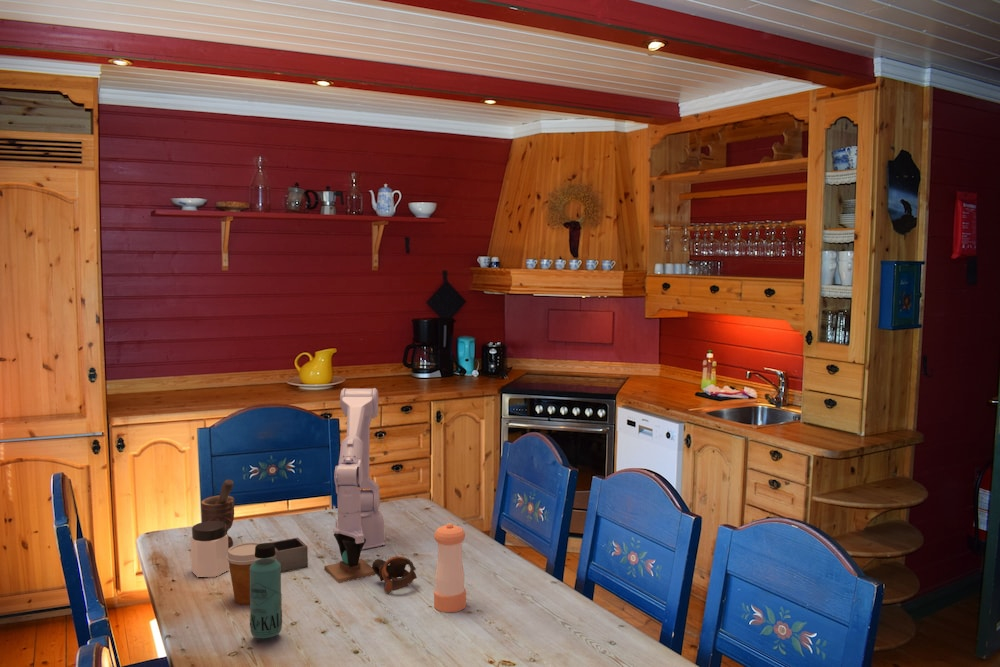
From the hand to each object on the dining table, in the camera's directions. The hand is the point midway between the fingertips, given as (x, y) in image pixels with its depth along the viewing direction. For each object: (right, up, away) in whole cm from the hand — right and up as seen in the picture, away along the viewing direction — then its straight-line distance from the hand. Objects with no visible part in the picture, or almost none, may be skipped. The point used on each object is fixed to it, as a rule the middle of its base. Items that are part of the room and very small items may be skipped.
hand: (350, 562), depth 199 cm
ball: (0, +2, 0) cm, 2 cm away
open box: (-17, -2, +5) cm, 18 cm away
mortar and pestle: (-39, -1, +18) cm, 43 cm away
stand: (0, -2, 0) cm, 2 cm away
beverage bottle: (-10, -6, -36) cm, 38 cm away
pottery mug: (+12, -3, -8) cm, 15 cm away
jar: (-35, -3, 0) cm, 36 cm away
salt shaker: (+27, -4, -20) cm, 33 cm away
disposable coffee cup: (-20, -4, -16) cm, 26 cm away
